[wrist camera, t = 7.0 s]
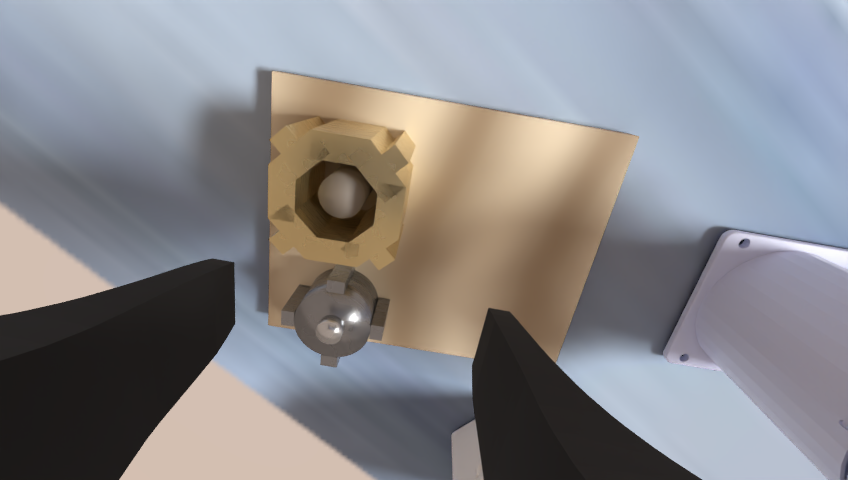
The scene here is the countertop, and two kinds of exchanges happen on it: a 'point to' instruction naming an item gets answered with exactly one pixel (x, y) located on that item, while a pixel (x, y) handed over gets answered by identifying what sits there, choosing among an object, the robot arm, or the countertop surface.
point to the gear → (336, 313)
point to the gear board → (464, 213)
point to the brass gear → (305, 171)
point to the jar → (466, 453)
